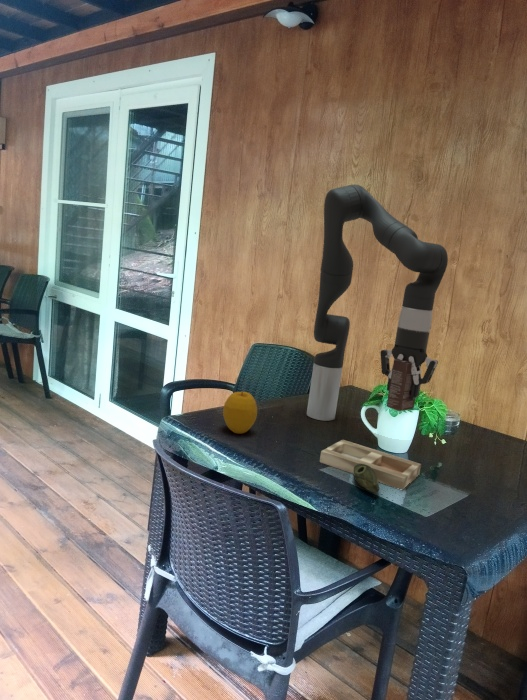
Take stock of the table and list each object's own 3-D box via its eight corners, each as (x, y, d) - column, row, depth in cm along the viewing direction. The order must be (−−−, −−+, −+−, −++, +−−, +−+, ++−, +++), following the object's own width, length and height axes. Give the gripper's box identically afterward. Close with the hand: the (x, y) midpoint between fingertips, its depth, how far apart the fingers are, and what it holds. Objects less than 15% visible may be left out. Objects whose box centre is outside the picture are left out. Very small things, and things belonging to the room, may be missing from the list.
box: (398, 404, 143) (408, 357, 141) (413, 409, 140) (423, 362, 138) (384, 406, 139) (393, 358, 137) (399, 412, 136) (409, 363, 134)
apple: (231, 423, 168) (236, 384, 165) (260, 431, 164) (265, 392, 161) (214, 431, 159) (219, 390, 157) (244, 440, 155) (250, 398, 153)
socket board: (340, 449, 157) (342, 439, 156) (419, 475, 146) (421, 464, 145) (319, 462, 146) (321, 451, 145) (402, 490, 135) (404, 478, 134)
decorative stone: (337, 480, 136) (340, 461, 135) (357, 475, 141) (360, 456, 140) (373, 500, 128) (377, 479, 127) (394, 493, 133) (397, 473, 132)
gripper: (379, 322, 137) (368, 391, 140) (439, 333, 129) (425, 406, 132) (391, 321, 143) (380, 387, 146) (448, 331, 135) (435, 400, 138)
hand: (402, 395), depth 139 cm, fingers closed on box, 5 cm apart
